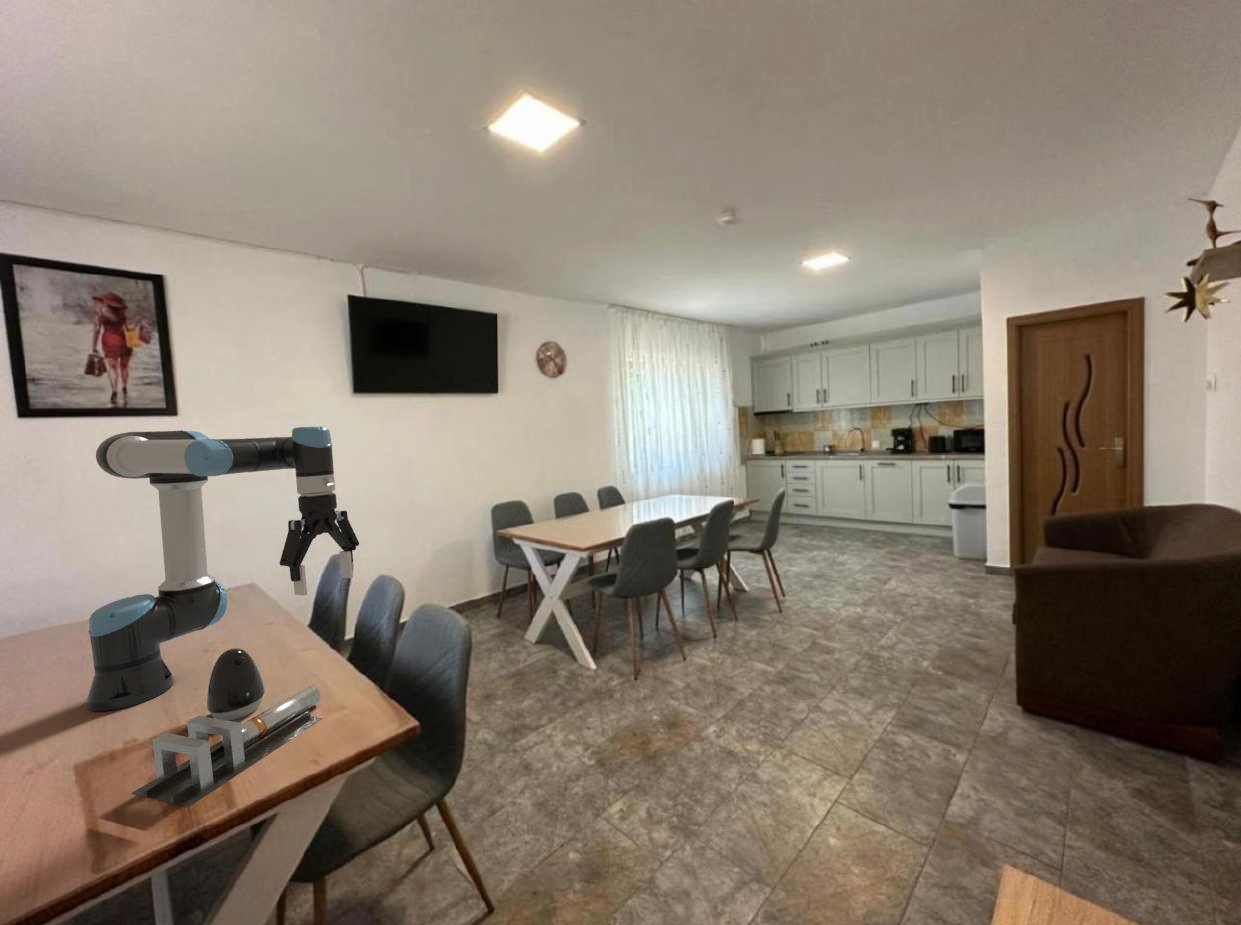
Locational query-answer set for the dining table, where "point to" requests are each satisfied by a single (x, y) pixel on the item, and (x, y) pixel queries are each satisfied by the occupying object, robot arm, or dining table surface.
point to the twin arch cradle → (210, 757)
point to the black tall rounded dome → (234, 686)
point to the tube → (278, 715)
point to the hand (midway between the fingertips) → (325, 585)
